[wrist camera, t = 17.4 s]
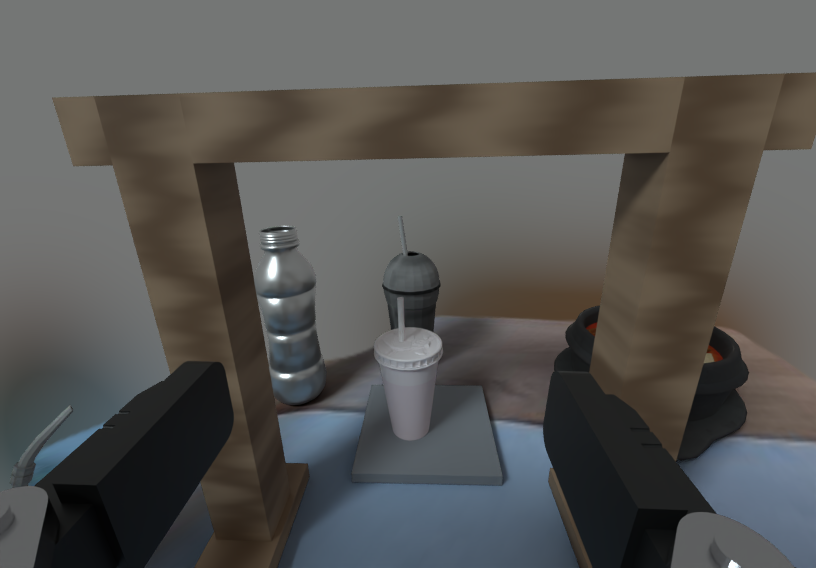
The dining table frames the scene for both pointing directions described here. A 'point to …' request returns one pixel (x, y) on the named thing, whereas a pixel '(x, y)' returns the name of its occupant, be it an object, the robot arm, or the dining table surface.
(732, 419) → the casserole
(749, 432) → the dining table surface
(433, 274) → the beverage cup
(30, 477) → the mate gourd
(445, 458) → the mat
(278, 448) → the archway
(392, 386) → the smoothie
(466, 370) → the dining table surface
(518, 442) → the dining table surface
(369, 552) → the dining table surface
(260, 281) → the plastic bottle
